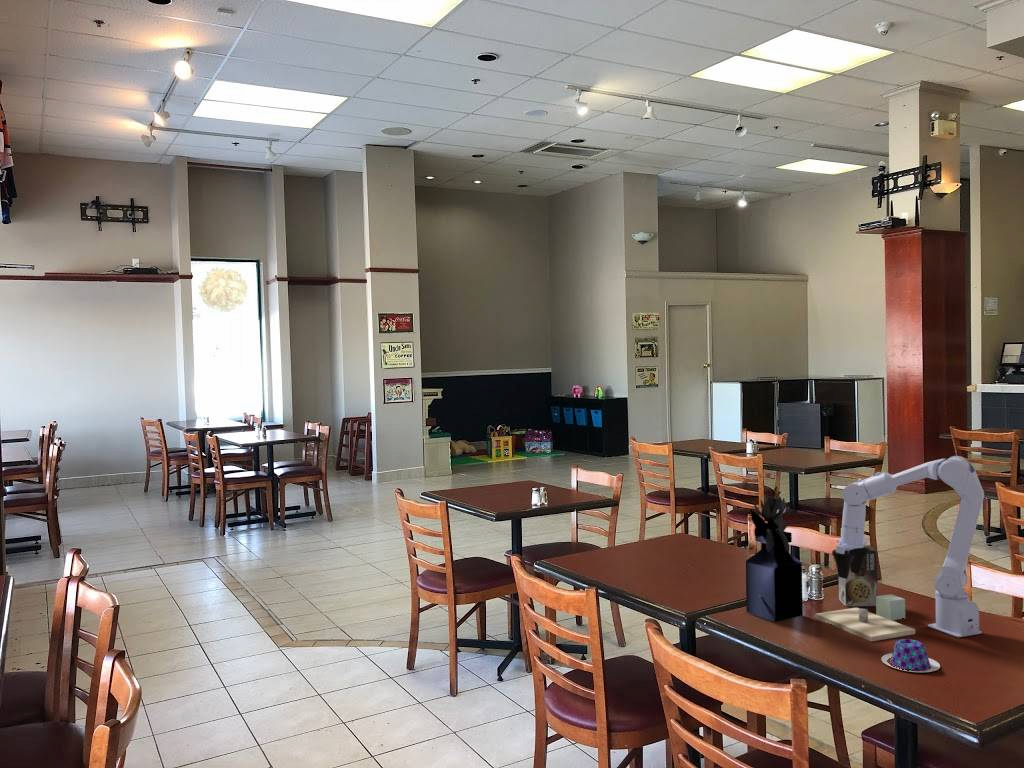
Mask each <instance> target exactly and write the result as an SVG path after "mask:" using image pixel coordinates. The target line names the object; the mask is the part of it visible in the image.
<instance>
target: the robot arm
mask: <svg viewBox="0 0 1024 768" xmlns="http://www.w3.org/2000/svg"><path fill="white" fill-rule="evenodd" d="M926 478H927V479H928V478H929V479H931V480H935V481H937V480H939V479H940V480H941V481H942V482H944V484H946V485H948V486H950V487H951V488H953V490H954V491H955V492H956V493H957V494H958V496H959V497H960V502H959V507H958V510H957V514H956V518H955V522H954V524H953V525H954V526H953V529H952V534H951V537H950V542H949V546H948V549H947V554H946V557H945V559H944V562H943V565H942V568H941V570H940V573H938V574H937V575H936V577H935V578H934V581H933V582H934V583H933V585H934V588H935V592H934V593H935V594H934V596H935V622H934V623H929V624H927V627H929V628H931V629H934V630H937V631H939V632H942V633H945V634H947V635H950V636H953V637H956V638H963V637H969V636H974V635H975V636H976V635H980V634H982V633H983V632H982V631H981V630H980V609H979V605H978V604H977V603H976V602H975V601H973V600H972V599H970V598H969V597H968V595H969V594H968V593H967V591H966V589H965V587H966V586H967V584H968V582H969V580H968V579H969V578H968V577H969V576H968V573H967V568H968V559H969V555H970V552H971V548H972V544H973V540H974V537H975V534H976V533H975V532H976V528H977V526H978V521H979V517H980V513H981V509H982V506H983V502H984V498H985V492H984V489H983V486H982V484H981V482H980V479H979V477H978V474H977V469H976V468H975V466H974V465H973V464H972V463H971V462H970V461H969V460H968V459H967V458H966V457H963V456H960V455H953V456H950V457H949V458H940V459H935V460H932V461H927V462H924V463H922V464H919V465H916V466H913V467H911V468H909V469H905V470H903V471H900V472H897V473H895V474H891V473H889V472H881V471H878V472H876V473H874V475H873V476H870V477H866V478H860V479H857V481H855V482H852V483H849V484H848V485H846V486H845V487H844V488H843V489H842V492H841V497H842V499H843V501H844V502H843V509H842V520H841V530H840V531H841V532H840V533H841V535H840V538H837V539H836V540H835V541H836V543H837V545H836V547H835V549H832V551H831V555H832V556H833V559H834V561H835V564H836V568H837V575H838V578H839V577H841V578H845V579H847V577H848V575H849V570H850V567H851V572H853V573H857V574H859V573H860V571H861V568H862V565H863V562H864V560H865V558H866V556H867V554H868V553H869V552H870V549H869V548H866V547H864V546H866V545H867V544H868V543H867V541H868V539H867V538H865V528H866V527H865V526H866V513H867V510H866V506H867V501H868V500H870V501H872V500H876V499H879V498H881V497H885V496H888V495H891V494H894V493H895V492H896V490H897V488H898V487H899V486H903V485H906V484H909V483H913V482H915V481H919V480H922V479H926ZM848 551H849V553H848Z"/></svg>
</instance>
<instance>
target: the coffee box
mask: <svg viewBox="0 0 1024 768" xmlns="http://www.w3.org/2000/svg"><path fill="white" fill-rule="evenodd" d="M864 547H866V548H869V549H870V552H869V553H868V554H867V556H866V558H865V560H864V562H863V565H862V568H861V571H860V573H859V574H857V573H853V572H851V567H850V570H849V575H848V577H847V579H845V578H841V577H839V576H838V601H839V600H840V603H842V605H843V606H845V607H876V596H879V595H878V594H879V591H878V590H879V587H878V558H877V557H878V554H877V549H875V547H872V546H871V545H870V544H866V546H864ZM848 553H849V551H848Z"/></svg>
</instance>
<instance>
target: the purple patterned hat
mask: <svg viewBox="0 0 1024 768" xmlns="http://www.w3.org/2000/svg"><path fill="white" fill-rule="evenodd" d="M928 656H929V655H928V651H927V648H926V646H925V643H922V642H921V641H919V640H916V639H915V640H914V639H910V638H908V639H906V638H902V639H899V640H896V641H895V644H894V647H893V651H892V652H891V653H886V654H884V655H883V656H882V657H881V661H882V663H884V664H885V665H887V666H889V667H891V668H893V669H897V670H900V671H905V672H911V673H930V672H932V673H933V672H935V671H939V669H941V665H940V663H939V662H938V661H936V660H934V659H933V658H930V657H928ZM891 657H892V658H891ZM889 658H891V660H890V662H891V661H892V662H891V663H892V664H893V666H894V665H896V666H895V667H893V666H891V665H890V664H889V663H888V662H887V660H888V659H889ZM897 666H899V667H900V669H899V667H897ZM896 667H897V668H896ZM901 668H903V669H904V670H902V669H901ZM905 669H910V670H909V671H907V670H905ZM912 670H914V671H912Z"/></svg>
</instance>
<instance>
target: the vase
mask: <svg viewBox="0 0 1024 768" xmlns="http://www.w3.org/2000/svg"><path fill="white" fill-rule="evenodd" d="M776 491H778V486H775V487H774V489H773V490H772V493H771V496H769V495H767V494H764V503H763V500H762V499H760V508H761V511H760V510H759V508H758V507H757V504H756V502H755V501H754V502H753V507H754V509H755V510H756V512H755V511H754V510H753V509H750V516H751V520H752V523H753V525H754V527H755V528H754V532H753V535H754V537H755V538H754V539H755V540H754V541H755V542H757V543H760V544H761V545H760V549H759V550H758V551H757V552H756V553H754V554H753V555H752V556H750V557H749V558H747V559H746V560H745V594H746V596H745V601H746V604H745V605H746V606H745V607H746V613H747V614H749V615H751V616H755V617H758V618H761V619H764V620H766V621H769V622H773V623H779V622H783V621H786V620H790V619H795V618H800V617H803V616H804V615H803V613H804V611H803V609H804V608H803V605H804V604H803V601H804V600H803V597H804V596H803V562H802V561H800V560H799V559H798V558H796V557H795V556H794V555H793V554H791V553H789V551H790V545H789V544H790V543H792V542H793V540H792V538H793V537H792V532H788V531H785V530H786V529H787V528H788V526H789V523H783V515H784V513H785V512H786V510H787V509H786V508H787V505H788V504H787V501H786V500H785V498H784V497H783V498H782V497H781V496H779V497H778V495H779V494H782V492H781V491H779V492H778V493H777V494H776V496H775V492H776ZM777 497H778V498H777ZM764 519H765V520H766V521H767V522H766V521H765V520H764Z"/></svg>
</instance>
